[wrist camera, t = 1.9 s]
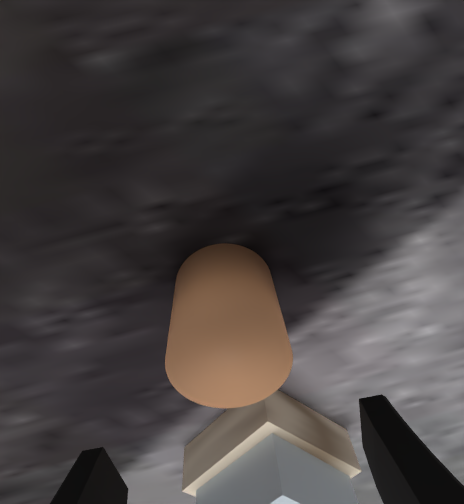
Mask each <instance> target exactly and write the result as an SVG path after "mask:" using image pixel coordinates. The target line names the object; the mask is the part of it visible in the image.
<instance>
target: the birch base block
mask: <svg viewBox="0 0 464 504" xmlns="http://www.w3.org/2000/svg"><path fill="white" fill-rule="evenodd" d="M272 433H273V434H275V435H277V436H279V437H280V438H282V439H284V440H286V441H288V442H289V443H291V444H293V445H295V446H297V447H298V448H300V449H302V450H304V451H306V452H307V453H309V454H311V455H313V456H314V457H316V458H318V459H320V460H322V461H323V462H325V463H327V464H329V465H331V466H332V467H334V468H336V469H338V470H340V471H341V472H343V473H345V474H347V475H348V476H350V479H351V478H352V477H354V476H355V475H357V474H358V473H360V472H361V468H360V465H359V463H358V460H357V457H356V454H355V452H354V449H353V446H352V443H351V441H350V438H349V435H348V432H347V430H346V429H345V428H343V427H341V426H340V425H338V424H336V423H334V422H333V421H331V420H329V419H328V418H326V417H324V416H322V415H321V414H319V413H317V412H315V411H314V410H312V409H310V408H309V407H307V406H305V405H303V404H302V403H300V402H298V401H297V400H295V399H293V398H291V397H290V396H288V395H286V394H284V393H283V392H281V391H279V390H277V391H275V392H274V393H273V394H271V395H270V396H268V397H267V398H265V399H263V400H261V401H259V402H257V403H254V404H251V405H247V406H243V407H237V408H229V409H227V410H226V411H225V412H224V413H223V414H222V415H221V416H219V417H218V418H217V419H216V420H215V421H214V422H213V423H211V424H210V425H209V426H208V427H207V428H206V429H205V430H204V431H202V432H201V433H200V434H199V435H198V436H197V437H196V438H194V439H193V440H192V441H191V442H190V443H189V444H188V445H186V446H185V448H184V465H183V482H182V491H183V492H185V493H188V494H190V495H193V496H195V497H196V490H197V489H198V488H200V487H201V486H202V485H204V484H205V483H206V482H208V481H209V480H210V479H212V478H213V477H214V476H216V475H217V474H218V473H220V472H221V471H222V470H224V469H225V468H226V467H228V466H229V465H230V464H232V463H233V462H234V461H236V460H237V459H238V458H240V457H241V456H242V455H244V454H245V453H246V452H248V451H249V450H250V449H252V448H253V447H254V446H256V445H257V444H258V443H260V442H261V441H262V440H264V439H265V438H266V437H268V436H269V435H270V434H272Z"/></svg>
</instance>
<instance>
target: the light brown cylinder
mask: <svg viewBox="0 0 464 504" xmlns="http://www.w3.org/2000/svg"><path fill="white" fill-rule="evenodd" d="M292 362H293V354H292V349H291V345H290V342H289V338H288V334H287V331H286V327H285V324H284V320H283V316H282V313H281V309H280V306H279V302H278V298H277V295H276V291H275V287H274V284H273V280H272V277H271V273H270V270H269V268H268V266H267V264H266V263H265V261H264V260H263V259H262V258H261V257H260V256H259V255H258V254H257V253H255V252H254V251H252V250H250V249H248V248H246V247H243V246H240V245H236V244H228V243H223V244H214V245H210V246H206V247H204V248H202V249H199V250H198V251H196V252H194V253H193V254H192V255H190V256H189V257H188V258H187V259H186V260H185V261H184V263H183V264H182V265H181V267H180V269H179V271H178V274H177V278H176V283H175V291H174V298H173V305H172V313H171V320H170V327H169V335H168V342H167V349H166V357H165V368H166V373H167V376H168V378H169V380H170V382H171V384H172V385H173V386H174V388H175V389H176V390H177V391H178V392H179V393H180V394H182V395H183V396H184V397H186V398H188V399H189V400H191V401H193V402H196V403H198V404H201V405H204V406H209V407H214V408H237V407H243V406H247V405H251V404H254V403H257V402H259V401H261V400H263V399H265V398H267V397H268V396H270V395H271V394H273V393H274V392H275V391H277V390H278V389H279V388H280V387H281V386H282V384H283V383H284V382H285V381H286V379H287V377H288V376H289V373H290V371H291V368H292Z"/></svg>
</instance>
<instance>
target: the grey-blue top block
mask: <svg viewBox="0 0 464 504" xmlns="http://www.w3.org/2000/svg"><path fill="white" fill-rule="evenodd" d="M196 504H359V503H358V500H357V497H356V494H355V491H354V488H353V485H352V482H351V479H350V476H348V475H347V474H345V473H343V472H341V471H340V470H338V469H336V468H334V467H332V466H331V465H329V464H327V463H325V462H323V461H322V460H320V459H318V458H316V457H314V456H313V455H311V454H309V453H307V452H306V451H304V450H302V449H300V448H298V447H297V446H295V445H293V444H291V443H289V442H288V441H286V440H284V439H282V438H280V437H279V436H277V435H275V434H273V433H272V434H270V435H269V436H268V437H266V438H265V439H264V440H262V441H261V442H260V443H258V444H257V445H256V446H254V447H253V448H252V449H250V450H249V451H248V452H246V453H245V454H244V455H242V456H241V457H240V458H238V459H237V460H236V461H234V462H233V463H232V464H230V465H229V466H228V467H226V468H225V469H224V470H222V471H221V472H220V473H218V474H217V475H216V476H214V477H213V478H212V479H210V480H209V481H208V482H206V483H205V484H204V485H202V486H201V487H200V488H198V489H197V490H196Z"/></svg>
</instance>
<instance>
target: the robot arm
mask: <svg viewBox="0 0 464 504" xmlns="http://www.w3.org/2000/svg"><path fill="white" fill-rule="evenodd" d="M359 406H360V418H361V431H362V444H363V448H364V451H365V454H366V458H367V461H368V464H369V467H370V470H371V472H372V475H373V478H374V481H375V484H376V487H377V489H378V492H379V494H380V496H381V499H382V501H383V503H384V504H464V486H463V485H462V484H461V483H460V482H459V481H458V480H457V479H456V478H455V477H454V476H453V474H452V473H451V472H450V471H449V470H448V469H447V468H446V467H445V466H444V465H443V464H442V463H441V462H440V461H439V460H438V459H437V457H436V456H435V455H434V454H433V453H432V452H431V451H430V450H429V449H428V448H427V447H426V445H425V444H424V443H423V442H422V441H421V440H420V439H419V437H418V436H417V435H416V434H415V433H414V432H413V430H412V429H411V428H410V427H409V426H408V425H407V423H406V422H405V421H404V420H403V419H402V417H401V416H400V415H399V414H398V412H397V411H396V410H395V409H394V407H393V406H392V405H391V403H390V402H389V401H388V399H387V398H386V397H385V396H383V395H377V396H372V397H366V398H361V399H359ZM127 496H128V488H127V486H126V484H125V483H124V481H123V479H122V478H121V476H120V474H119V473H118V471H117V469H116V468H115V466H114V464H113V463H112V461H111V459H110V458H109V456H108V454H107V453H106V451H105V449H104V448H103V447H101V448H96V449H90V450H85V451H82V452H81V454H80V456H79V457H78V459H77V460H76V462H75V464H74V465H73V467H72V468H71V470H70V472H69V473H68V475H67V477H66V478H65V480H64V482H63V483H62V485H61V487H60V488H59V490H58V492H57V493H56V495H55V496H54V498H53V500H52V501H51V503H50V504H127Z"/></svg>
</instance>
